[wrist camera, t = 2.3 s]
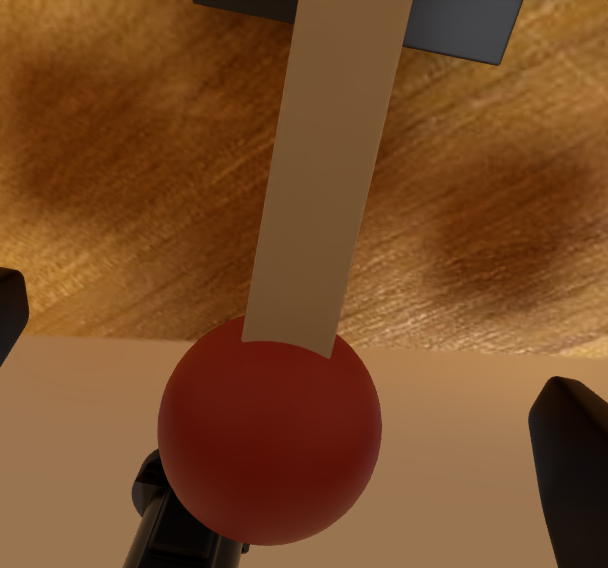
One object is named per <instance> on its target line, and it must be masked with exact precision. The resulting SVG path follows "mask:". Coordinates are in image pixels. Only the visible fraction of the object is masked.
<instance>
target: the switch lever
mask: <svg viewBox="0 0 608 568" xmlns="http://www.w3.org/2000/svg"><path fill="white" fill-rule="evenodd" d="M412 1H413V0H298V6H297V12H296V18H295V24H294V30H293V36H292V42H291V48H290V53H289V59H288V65H287V71H286V77H285V83H284V89H283V95H282V101H281V107H280V113H279V119H278V125H277V131H276V137H275V143H274V149H273V154H272V160H271V166H270V172H269V178H268V184H267V190H266V196H265V202H264V208H263V214H262V220H261V226H260V232H259V238H258V244H257V249H256V255H255V261H254V267H253V273H252V279H251V285H250V291H249V297H248V303H247V309H246V315H245V316H242V317H238V318H236V319H233V320H231V321H228V322H226V323H224V324H222V325H220V326H218V327H216V328H215V329H213V330H212V331H210V332H209V333H207V334H206V335H205V336H203V337H202V338H201V339H199V340H198V341H197V342H196V343H195V344H194V345H193V346H192V347H191V348H190V349H189V350H188V351H187V353H186V354H185V355H184V356H183V358H182V359H181V360H180V362H179V363H178V364H177V366H176V368H175V369H174V371H173V373H172V375H171V377H170V379H169V381H168V383H167V385H166V388H165V391H164V394H163V397H162V401H161V405H160V411H159V415H158V447H159V453H160V457H161V461H162V465H163V469H164V472H165V474H166V477H167V479H168V482H169V483H170V485H171V487H172V489H173V490H174V492H175V494H176V496H177V497H178V499H179V500H180V502H181V503H182V504H183V505H184V507H185V508H186V509H187V510H188V511H189V512H190V513H191V514H192V515H193V516H194V517H195V518H196V519H198V520H199V521H200V522H201V523H203V524H204V525H205V526H206V527H208V528H209V529H211V530H213V531H214V532H216V533H218V534H220V535H222V536H224V537H226V538H229V539H232V540H235V541H238V542H242V543H246V544H252V545H263V546H272V545H283V544H288V543H293V542H296V541H299V540H302V539H306V538H308V537H310V536H313V535H315V534H317V533H319V532H321V531H323V530H324V529H326V528H328V527H329V526H331V525H332V524H333V523H334V522H336V521H337V520H338V519H339V518H340V517H342V516H343V515H344V514H345V513H346V512H347V511H348V510H349V509H350V508H351V507H352V506H353V505H354V503H355V502H356V501H357V499H358V498H359V496H360V495H361V494H362V492H363V491H364V489H365V487H366V486H367V484H368V482H369V480H370V478H371V475H372V473H373V470H374V467H375V465H376V462H377V459H378V454H379V449H380V443H381V433H382V421H381V411H380V403H379V399H378V395H377V391H376V389H375V386H374V383H373V381H372V378H371V376H370V374H369V372H368V370H367V369H366V367H365V365H364V364H363V362H362V360H361V359H360V358H359V356H358V355H357V354H356V353H355V351H354V350H353V349H352V347H351V346H350V345H349V344H347V343H346V342H345V341H344V340H343V339H342V338H341V337H340V336H338V335H337V334H336V332H337V328H338V323H339V319H340V315H341V310H342V306H343V302H344V297H345V293H346V289H347V284H348V280H349V275H350V271H351V267H352V262H353V258H354V254H355V249H356V245H357V241H358V236H359V232H360V228H361V223H362V219H363V214H364V210H365V206H366V201H367V197H368V193H369V188H370V184H371V180H372V175H373V171H374V167H375V162H376V158H377V154H378V149H379V145H380V140H381V136H382V132H383V127H384V123H385V119H386V114H387V110H388V106H389V101H390V97H391V93H392V88H393V84H394V79H395V75H396V71H397V66H398V62H399V58H400V53H401V49H402V45H403V40H404V36H405V32H406V27H407V23H408V18H409V14H410V10H411V5H412Z"/></svg>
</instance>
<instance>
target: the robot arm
mask: <svg viewBox="0 0 608 568" xmlns="http://www.w3.org/2000/svg"><path fill="white" fill-rule="evenodd" d="M28 318H29V306H28V299H27V293H26V286H25V280H24V277H23V275H22V273H21V272H19V271H18V270H14V269H9V268H4V267H0V367H1V365H2V364H3V362H4V360H5V359H6V357H7V356H8V354H9V352H10V351H11V349H12V347H13V346H14V344H15V343H16V341H17V339H18V338H19V336H20V334H21V333H22V331H23V329H24V328H25V326H26V324H27V322H28ZM528 423H529V430H530V437H531V443H532V449H533V456H534V462H535V468H536V474H537V481H538V487H539V493H540V498H541V503H542V508H543V513H544V517H545V521H546V525H547V528H548V532H549V536H550V539H551V543H552V546H553V550H554V554H555V558H556V562H557V565H558V568H608V403H607V402H606V401H604V400H603V399H602V398H601V397H599V396H598V395H597V394H595V393H594V392H593V391H592V390H590V389H589V388H588V387H586V386H585V385H584V384H583V383H581V382H580V381H578V380H574V379H569V378H564V377H559V376H555V377H551V378H550V379H549V380H548V381H547V383H546V384H545V386H544V387H543V389H542V391H541V392H540V394H539V396H538V397H537V399H536V401H535V402H534V404H533V406H532V408H531V410H530V412H529V418H528ZM249 546H250V544H246V543H242V542H238V541H235V540H232V539H229V538H226V537H224V536H222V535H220V534H218V533H216V532H214V531H213V530H211V529H209V528H208V527H206V526H205V525H204V524H203V523H201V522H200V521H199V520H198V519H196V518H195V517H194V516H193V515H192V514H191V513H190V512H189V511H188V510H187V509H186V508H185V507H184V505H183V504H182V503H181V502H180V500H179V499H178V497H177V496H176V494H175V492H174V490H173V489H172V487H171V485H170V483H169V482H168V479H167V477H166V474H165V472H164V469H163V465H162V464H157V463H147V464H146V465H145V467H144V469H143V472H142V521H141V523H140V526H139V528H138V530H137V533H136V535H135V538H134V541H133V543H132V545H131V548H130V550H129V553H128V555H127V558H126V560H125V563H124V565H123V568H238V566H239V560H240V556H241V554H244V553H247V552H248V551H249Z"/></svg>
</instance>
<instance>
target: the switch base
mask: <svg viewBox="0 0 608 568" xmlns="http://www.w3.org/2000/svg"><path fill="white" fill-rule="evenodd" d="M522 2H523V0H413V1H412V5H411V10H410V14H409V18H408V23H407V27H406V32H405V36H404V40H403V45H402V47H407V48H412V49H417V50H422V51H427V52H432V53H437V54H441V55H446V56H451V57H456V58H461V59H466V60H471V61H475V62H480V63H485V64H490V65H495V66H499V65H500V64H501V61H502V58H503V55H504V52H505V50H506V47H507V44H508V41H509V39H510V36H511V33H512V30H513V27H514V25H515V22H516V19H517V16H518V14H519V11H520V8H521V5H522ZM193 3H195V4H198V5H203V6H208V7H213V8H218V9H223V10H228V11H232V12H237V13H242V14H247V15H252V16H257V17H262V18H266V19H271V20H276V21H281V22H286V23H291V24H295V18H296V12H297V6H298V0H193Z"/></svg>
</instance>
